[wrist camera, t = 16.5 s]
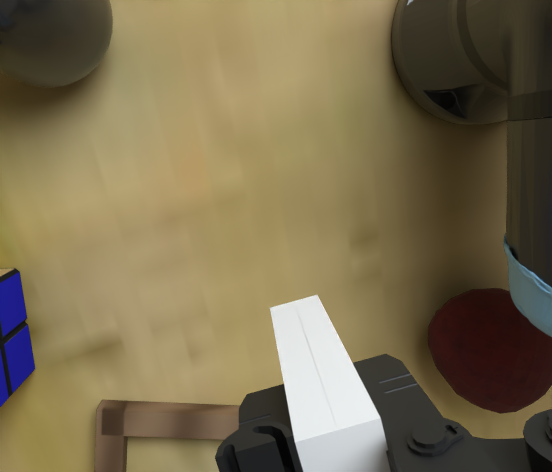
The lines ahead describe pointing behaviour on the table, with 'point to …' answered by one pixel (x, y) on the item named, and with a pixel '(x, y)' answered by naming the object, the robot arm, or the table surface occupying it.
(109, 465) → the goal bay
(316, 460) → the robot arm
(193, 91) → the table surface
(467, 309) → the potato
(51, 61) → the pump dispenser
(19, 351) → the puzzle cube
